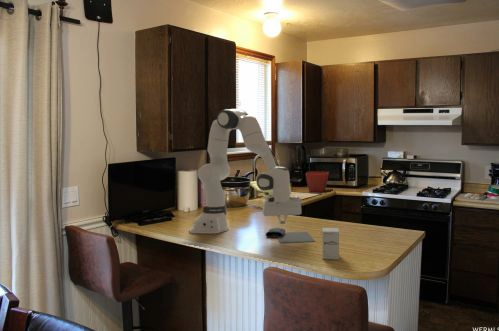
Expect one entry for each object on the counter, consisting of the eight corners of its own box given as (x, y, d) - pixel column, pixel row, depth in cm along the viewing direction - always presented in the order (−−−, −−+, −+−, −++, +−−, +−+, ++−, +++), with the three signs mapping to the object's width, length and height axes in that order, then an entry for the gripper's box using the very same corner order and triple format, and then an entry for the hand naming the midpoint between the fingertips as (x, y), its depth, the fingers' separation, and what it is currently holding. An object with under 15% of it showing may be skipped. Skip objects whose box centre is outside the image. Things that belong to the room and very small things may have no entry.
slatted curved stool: (291, 208, 312) (291, 183, 310) (272, 211, 303) (272, 185, 302) (268, 202, 337) (267, 179, 336) (250, 205, 329) (250, 181, 328)
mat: (279, 243, 220) (279, 242, 220) (274, 233, 240) (274, 233, 240) (315, 241, 221) (315, 241, 221) (307, 232, 241) (307, 231, 241)
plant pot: (328, 189, 396) (328, 171, 394) (327, 193, 377) (327, 173, 376) (307, 189, 400) (307, 171, 399) (305, 192, 382) (305, 173, 380)
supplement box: (322, 259, 191) (321, 231, 190) (322, 254, 199) (322, 227, 197) (339, 260, 190) (339, 231, 189) (338, 255, 197) (338, 227, 196)
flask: (282, 237, 230) (286, 232, 240) (282, 231, 230) (286, 227, 240) (265, 237, 232) (269, 232, 243) (265, 231, 232) (269, 226, 242)
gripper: (300, 195, 232) (300, 221, 233) (262, 197, 230) (262, 223, 232) (302, 197, 226) (303, 223, 227) (263, 199, 224) (263, 225, 225)
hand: (282, 223), depth 229 cm, fingers closed
